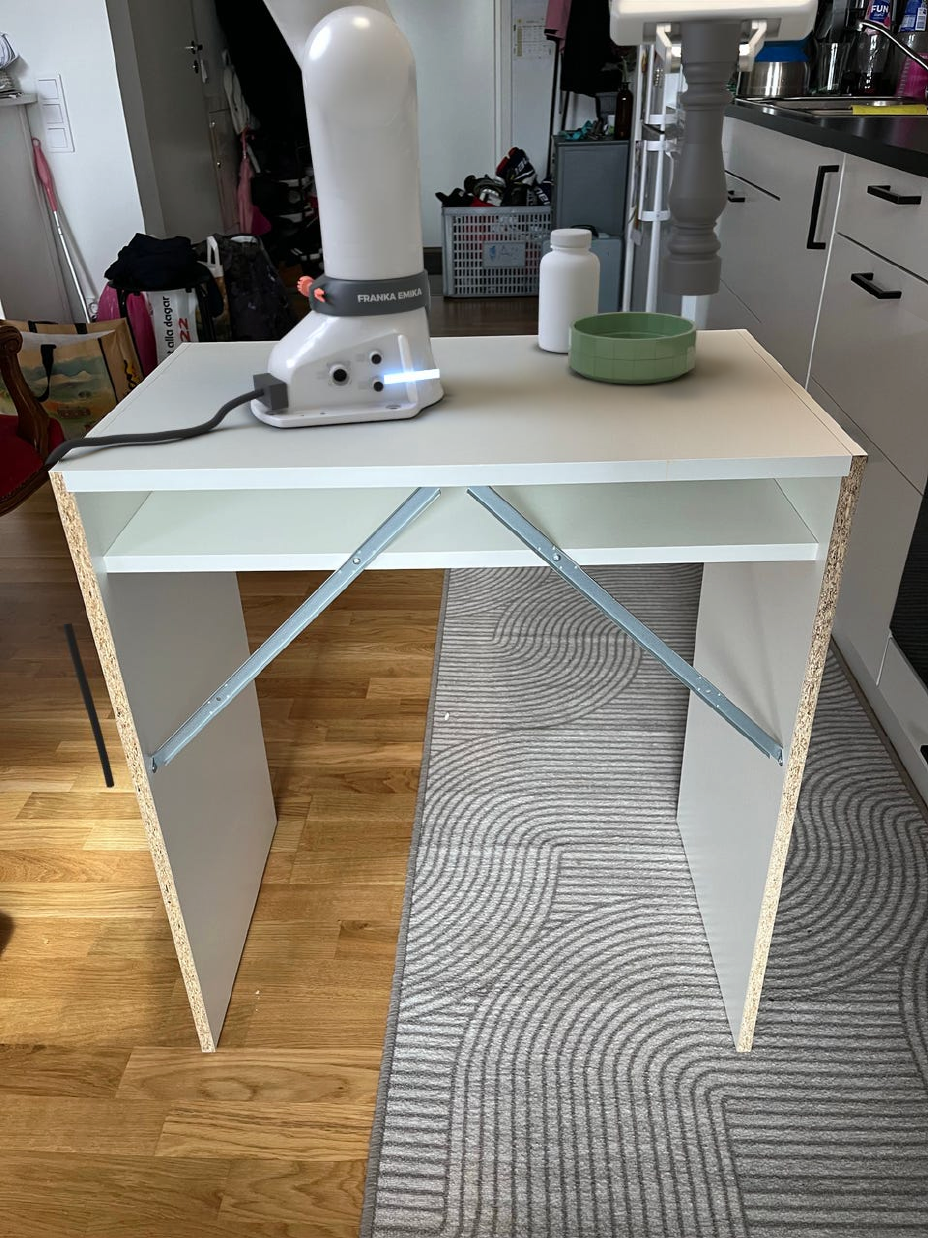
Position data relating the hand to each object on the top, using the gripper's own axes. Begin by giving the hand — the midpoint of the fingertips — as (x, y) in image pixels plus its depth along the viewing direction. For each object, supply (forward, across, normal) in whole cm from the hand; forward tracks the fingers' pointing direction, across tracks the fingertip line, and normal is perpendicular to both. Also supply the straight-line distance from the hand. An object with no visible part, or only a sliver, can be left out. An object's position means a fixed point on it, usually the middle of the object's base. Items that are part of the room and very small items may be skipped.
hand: (709, 67), depth 97 cm
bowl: (+15, -6, +32) cm, 36 cm away
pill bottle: (+8, -15, +40) cm, 43 cm away
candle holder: (+15, 0, +16) cm, 22 cm away
